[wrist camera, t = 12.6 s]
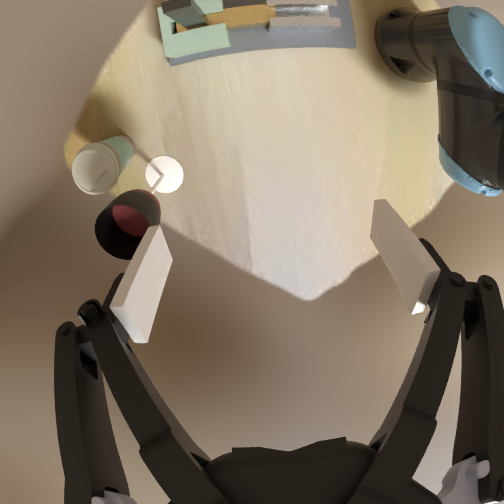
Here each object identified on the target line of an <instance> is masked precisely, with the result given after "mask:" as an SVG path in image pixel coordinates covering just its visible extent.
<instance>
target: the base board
mask: <svg viewBox="0 0 504 504" xmlns="http://www.w3.org/2000/svg"><path fill="white" fill-rule="evenodd" d="M223 2H224V8H225V9H226V8H233V7H240V6H249V5H259V4H264V2H265V0H223ZM328 9H329V15H330V17H334V18H340V23H341V27H339V28H337V29H335V30H333V31H280V32H268V27H267V26H260V27H251V28H242V29H235V30H228V31H229V37H230V43H231V47H226V48H220V49H214V50H209V51H204V52H200V53H195V54H191V55H187V56H183V57H179V58H170V57H168V58H169V63H170V66H175V65H179V64H183V63H187V62H191V61H196V60H200V59H205V58H210V57H215V56H221V55H227V54H233V53H240V52H247V51H256V50H266V49H278V48H299V47H329V48H350V49H354V48H356V43H355V36H354V29H353V22H352V16H351V10H350V4H349V0H337V6H329V7H328Z"/></svg>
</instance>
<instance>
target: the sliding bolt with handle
mask: <svg viewBox="0 0 504 504" xmlns="http://www.w3.org/2000/svg"><path fill="white" fill-rule="evenodd" d="M161 4H162V10H163V14H165V15H166V16H168V17H170V18H171V19H173V20H174V21H176V27H177V33H180V32H184V31H188V30H192V29H196V28H201V27H205V26H210V25H216V24H221V23H226V29H227V31H228V30H235V29H242V28H251V27H260V26H269V25H270V21H269V18H272V17H276V13H275V7H274V6H267V4H259V5H249V6H240V7H233V8H226V9H223V11H221V12H216V13H210V14H204V13H203V11H202V10H201V9H200V7H199V6H198V5H197V4H196V2H195V1H194V0H170V1H167V2H164V3H161Z"/></svg>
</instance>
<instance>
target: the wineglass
mask: <svg viewBox="0 0 504 504" xmlns="http://www.w3.org/2000/svg"><path fill="white" fill-rule="evenodd" d="M145 175H146V180H147V182H148V183H149V185H150V186H151V187H152V188H151V189H150V191H149V192H148V191H146V190H141V189H135V190H130V191H127V192H125V193H123V194H121V195H119V196H118V197H117V198H115V199H114V200H113V201H112V202H111V203H110V204H109V205H108V206H107V207H106V208H105V209H104V210H103V211H102V212H101V213H100V214H99V216H98V217H97V220H96V224H95V234H96V238H97V240H98V242H99V244H100V245H101V246H102V248H103V249H104V250H105V251H106V252H108V253H109V254H110V255H112V256H114V257H117V258H120V259H124V260H132V258H133V256H134V254H135V252H136V250H137V248H138V246H139V244H140V242H141V240H142V238H143V237H144V235H145V233H146V231H147V229H148V227H151V226H157V225H159V223H160V216H161V210H160V204H159V202H158V200H157V198H156V197H155V196H154V195H153V193H154V191H155V190H156V191H158V192H162V193H170V192H173V191H175V190H176V189H177V188H179V187H180V185H181V183H182V181H183V170H182V168H181V166H180V164H179V163H178V162H177V161H176V160H175V159H173V158H171V157H167V156H159V157H156V158H154V159H152V160H151V161H150V162H149V163H148V165H147V167H146V173H145Z"/></svg>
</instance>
